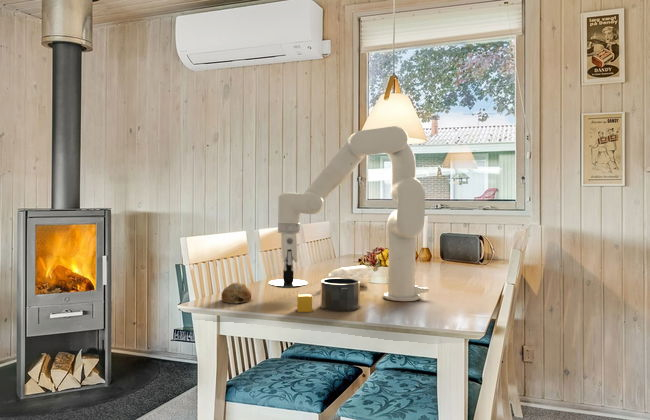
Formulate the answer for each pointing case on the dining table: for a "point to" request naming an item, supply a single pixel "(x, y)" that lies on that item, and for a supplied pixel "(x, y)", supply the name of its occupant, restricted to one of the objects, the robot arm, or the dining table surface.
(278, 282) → the pan lid
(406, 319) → the dining table surface
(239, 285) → the brown rounded lump
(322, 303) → the pan
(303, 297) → the butter carton
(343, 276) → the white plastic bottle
